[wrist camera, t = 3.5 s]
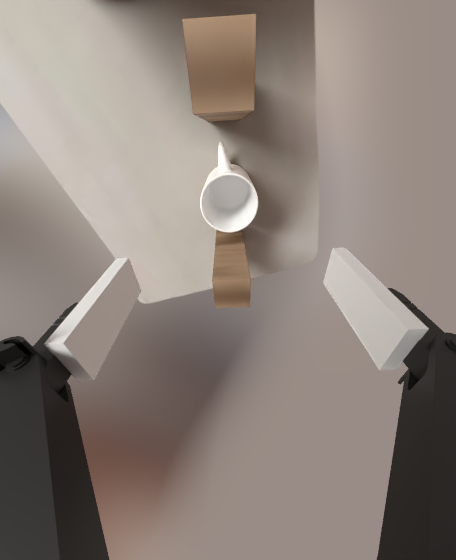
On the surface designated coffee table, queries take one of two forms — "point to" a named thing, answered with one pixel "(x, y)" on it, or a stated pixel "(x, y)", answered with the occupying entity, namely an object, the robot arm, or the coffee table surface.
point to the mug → (228, 196)
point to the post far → (231, 271)
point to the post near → (221, 65)
